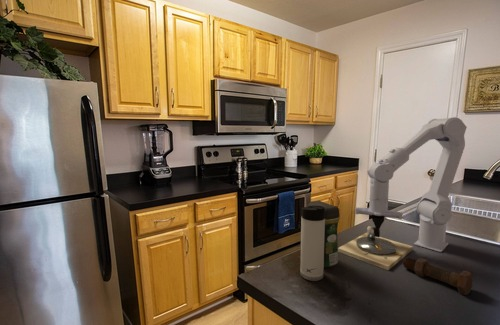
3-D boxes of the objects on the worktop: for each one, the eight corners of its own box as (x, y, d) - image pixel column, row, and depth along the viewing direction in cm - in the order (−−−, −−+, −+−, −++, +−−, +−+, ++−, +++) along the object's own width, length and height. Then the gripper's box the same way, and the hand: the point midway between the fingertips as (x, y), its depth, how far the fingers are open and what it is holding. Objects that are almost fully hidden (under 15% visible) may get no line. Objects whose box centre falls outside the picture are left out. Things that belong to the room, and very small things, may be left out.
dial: (352, 237, 94) (352, 224, 93) (387, 239, 92) (388, 226, 92) (361, 253, 82) (362, 238, 81) (402, 255, 80) (403, 240, 80)
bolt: (405, 273, 77) (469, 298, 64) (398, 269, 74) (463, 294, 62) (410, 254, 78) (474, 274, 66) (403, 249, 75) (468, 270, 63)
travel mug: (311, 284, 68) (312, 210, 66) (295, 272, 74) (296, 204, 71) (329, 278, 71) (331, 207, 69) (312, 267, 77) (314, 201, 74)
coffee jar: (301, 256, 83) (302, 200, 81) (321, 251, 86) (322, 197, 84) (321, 271, 74) (323, 208, 72) (342, 265, 78) (344, 204, 76)
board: (365, 235, 100) (365, 232, 99) (412, 249, 88) (412, 245, 87) (337, 251, 87) (337, 247, 86) (388, 270, 75) (388, 265, 74)
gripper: (355, 198, 89) (353, 236, 91) (404, 203, 83) (401, 244, 84) (356, 194, 95) (355, 229, 97) (402, 198, 89) (400, 236, 90)
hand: (377, 235), depth 91 cm, fingers closed, pressing on dial
